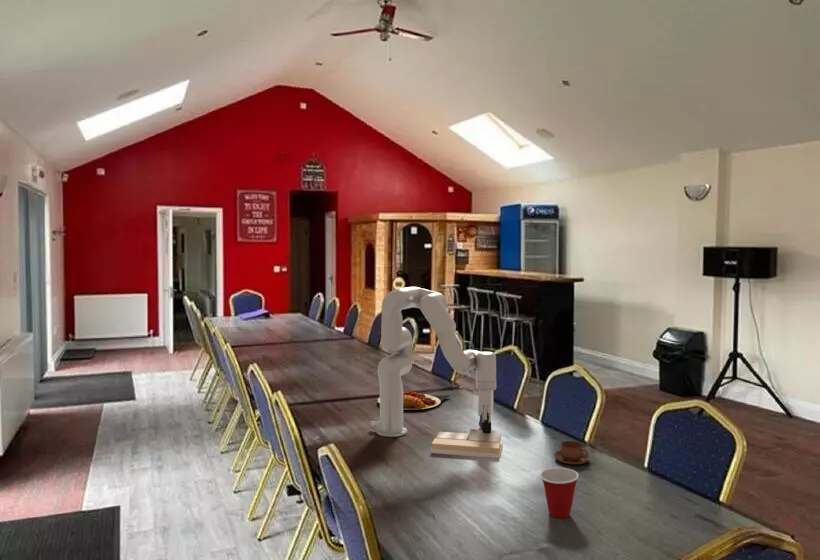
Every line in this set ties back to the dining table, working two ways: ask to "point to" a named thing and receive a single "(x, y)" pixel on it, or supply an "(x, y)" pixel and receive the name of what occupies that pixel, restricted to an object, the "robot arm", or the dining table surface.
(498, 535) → the dining table surface
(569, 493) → the plastic cup
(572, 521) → the dining table surface
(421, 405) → the omelette plate
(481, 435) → the right plank
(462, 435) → the left plank
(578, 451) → the cup and saucer
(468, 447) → the floor board
